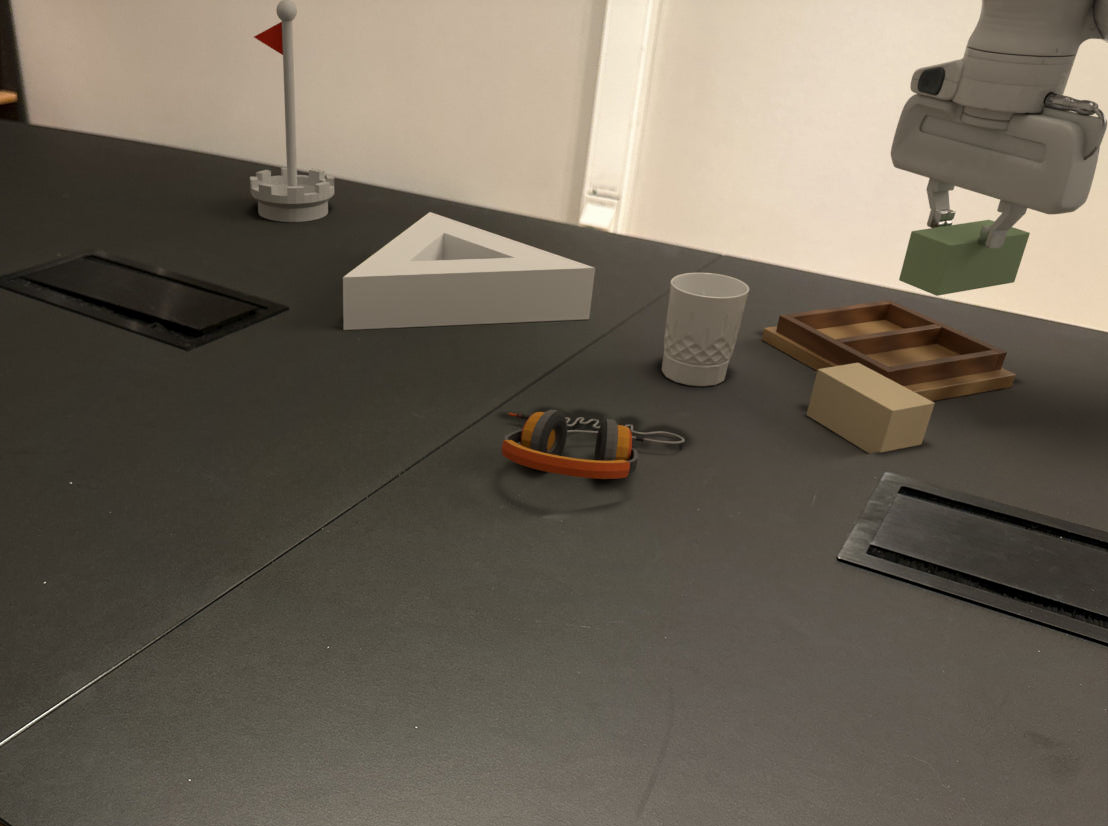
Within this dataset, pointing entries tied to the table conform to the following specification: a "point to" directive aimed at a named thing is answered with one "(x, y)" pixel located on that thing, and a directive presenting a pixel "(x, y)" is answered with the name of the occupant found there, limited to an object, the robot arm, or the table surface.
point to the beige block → (868, 408)
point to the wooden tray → (893, 348)
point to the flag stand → (289, 146)
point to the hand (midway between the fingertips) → (962, 237)
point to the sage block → (960, 259)
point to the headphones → (548, 439)
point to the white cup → (702, 327)
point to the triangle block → (462, 281)
